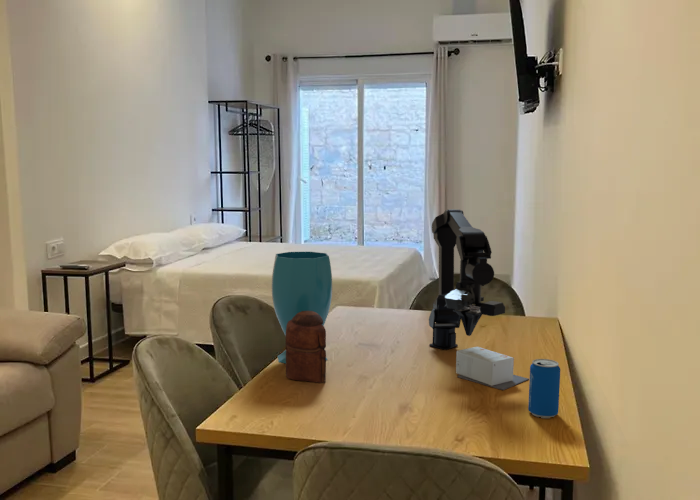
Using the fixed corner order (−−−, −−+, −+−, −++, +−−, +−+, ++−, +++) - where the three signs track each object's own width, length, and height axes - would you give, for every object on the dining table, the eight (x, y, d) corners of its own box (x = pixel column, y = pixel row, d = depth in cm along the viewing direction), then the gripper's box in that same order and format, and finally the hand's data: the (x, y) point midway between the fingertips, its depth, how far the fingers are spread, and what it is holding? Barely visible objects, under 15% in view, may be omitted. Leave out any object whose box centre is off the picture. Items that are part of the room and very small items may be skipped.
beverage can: (524, 409, 150) (526, 358, 148) (551, 408, 150) (553, 358, 149) (534, 420, 144) (536, 367, 142) (562, 419, 144) (565, 366, 143)
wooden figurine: (332, 377, 172) (332, 310, 169) (323, 384, 166) (324, 315, 163) (290, 372, 175) (290, 306, 173) (280, 380, 169) (280, 311, 167)
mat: (457, 377, 173) (457, 375, 172) (483, 367, 181) (483, 366, 181) (503, 390, 163) (503, 389, 162) (528, 379, 171) (528, 378, 171)
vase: (336, 365, 182) (336, 258, 178) (273, 368, 179) (272, 259, 175) (327, 348, 199) (328, 250, 195) (270, 350, 196) (270, 251, 192)
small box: (455, 373, 175) (491, 386, 164) (455, 350, 174) (492, 361, 163) (477, 368, 179) (513, 381, 169) (477, 346, 179) (514, 357, 168)
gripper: (424, 277, 175) (422, 334, 177) (482, 286, 162) (480, 348, 164) (449, 272, 183) (448, 327, 185) (507, 281, 170) (505, 340, 172)
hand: (468, 335), depth 176 cm, fingers closed
